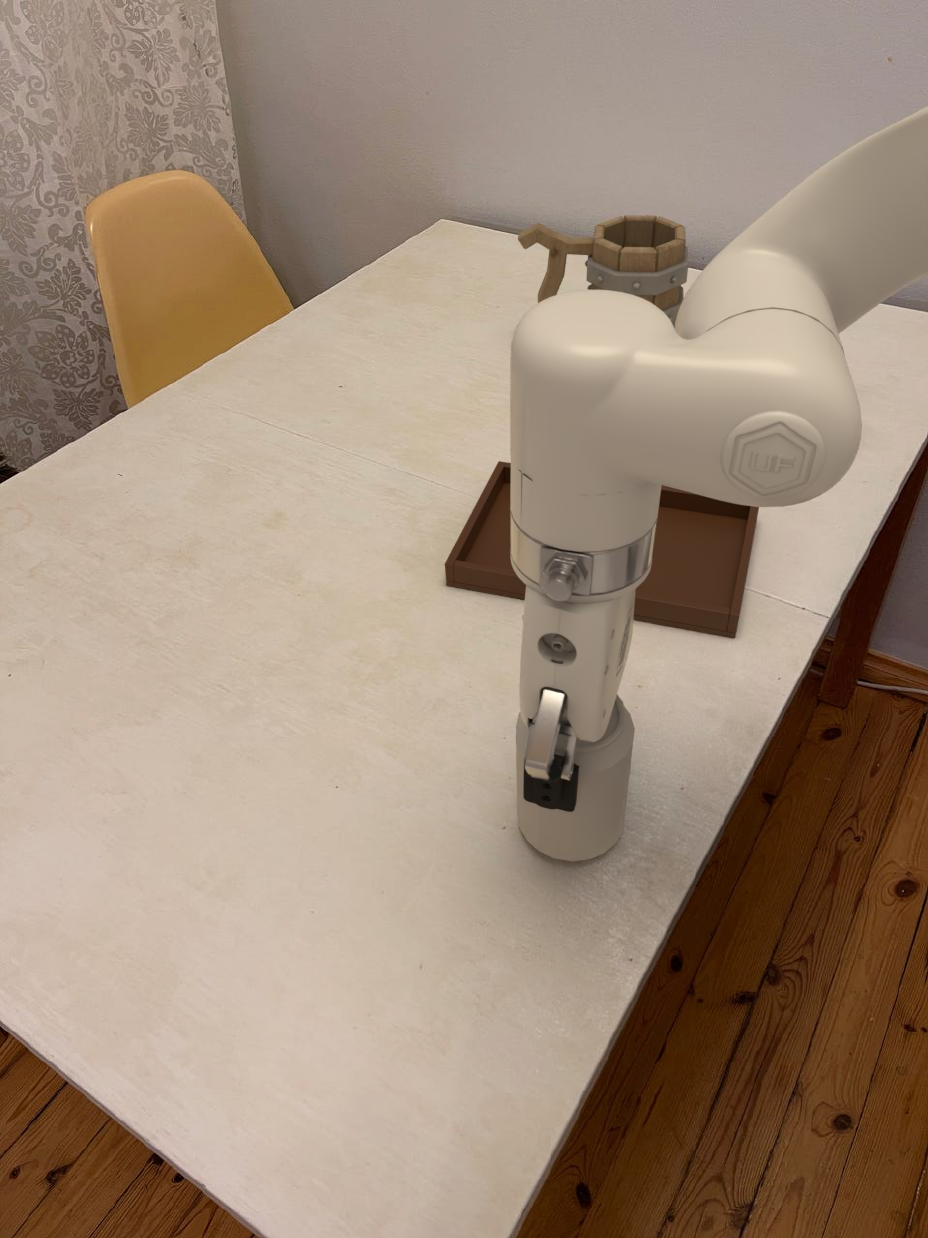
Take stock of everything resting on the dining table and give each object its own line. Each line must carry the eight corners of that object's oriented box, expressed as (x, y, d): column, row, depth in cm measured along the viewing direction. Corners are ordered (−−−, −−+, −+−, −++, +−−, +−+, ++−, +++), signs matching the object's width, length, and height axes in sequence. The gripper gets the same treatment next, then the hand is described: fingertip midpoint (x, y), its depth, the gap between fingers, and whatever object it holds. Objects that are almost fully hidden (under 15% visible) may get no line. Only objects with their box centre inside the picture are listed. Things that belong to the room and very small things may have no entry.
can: (644, 814, 68) (659, 700, 60) (584, 888, 64) (592, 777, 56) (557, 763, 72) (561, 650, 64) (495, 830, 68) (491, 718, 60)
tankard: (682, 323, 122) (696, 201, 111) (684, 373, 113) (699, 246, 102) (524, 320, 125) (524, 200, 114) (514, 368, 115) (512, 244, 105)
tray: (756, 521, 92) (760, 498, 90) (735, 638, 81) (739, 615, 79) (499, 482, 99) (498, 460, 97) (446, 585, 87) (444, 563, 86)
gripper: (619, 663, 44) (596, 871, 55) (680, 456, 56) (651, 663, 67) (462, 631, 46) (472, 838, 57) (553, 437, 57) (546, 641, 69)
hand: (568, 743), depth 62 cm, fingers open, 9 cm apart
